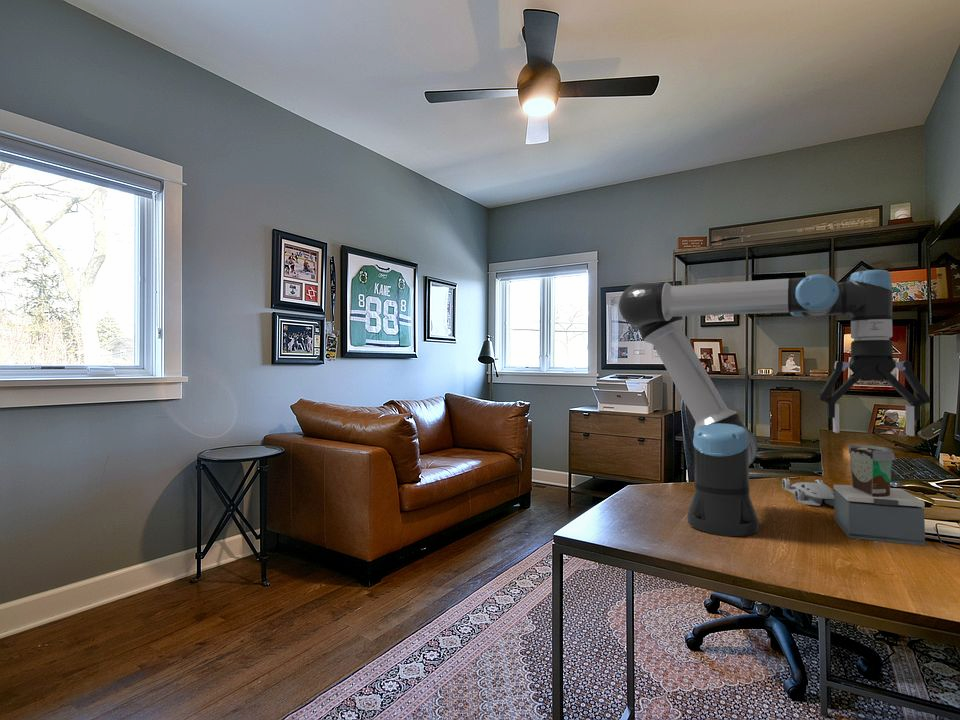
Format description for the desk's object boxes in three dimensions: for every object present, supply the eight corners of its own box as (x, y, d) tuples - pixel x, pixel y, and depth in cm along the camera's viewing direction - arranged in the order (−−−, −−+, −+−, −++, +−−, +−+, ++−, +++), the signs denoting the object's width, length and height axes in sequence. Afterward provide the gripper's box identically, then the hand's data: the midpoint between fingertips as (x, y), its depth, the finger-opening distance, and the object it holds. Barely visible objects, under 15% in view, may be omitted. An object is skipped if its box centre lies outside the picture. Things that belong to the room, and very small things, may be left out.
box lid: (848, 502, 111) (848, 497, 111) (833, 488, 124) (833, 484, 124) (926, 508, 105) (926, 503, 105) (901, 493, 119) (901, 488, 119)
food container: (909, 499, 108) (907, 452, 109) (875, 498, 110) (874, 451, 110) (879, 487, 120) (878, 444, 121) (849, 486, 122) (848, 444, 122)
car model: (821, 490, 155) (820, 473, 155) (853, 512, 132) (853, 492, 132) (779, 488, 158) (779, 471, 159) (804, 509, 135) (803, 490, 135)
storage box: (849, 537, 111) (848, 503, 112) (834, 519, 124) (834, 488, 124) (925, 545, 106) (924, 509, 106) (901, 526, 119) (901, 493, 119)
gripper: (809, 340, 118) (810, 432, 117) (949, 337, 107) (950, 439, 107) (803, 341, 124) (804, 429, 124) (935, 339, 114) (936, 434, 114)
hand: (872, 433), depth 116 cm, fingers open, 13 cm apart
